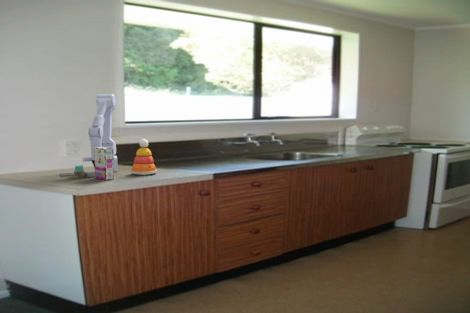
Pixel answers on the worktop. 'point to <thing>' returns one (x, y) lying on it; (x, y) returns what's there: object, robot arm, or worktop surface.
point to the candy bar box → (104, 163)
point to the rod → (89, 174)
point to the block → (79, 168)
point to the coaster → (67, 174)
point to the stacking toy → (143, 160)
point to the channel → (79, 174)
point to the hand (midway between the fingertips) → (97, 174)
